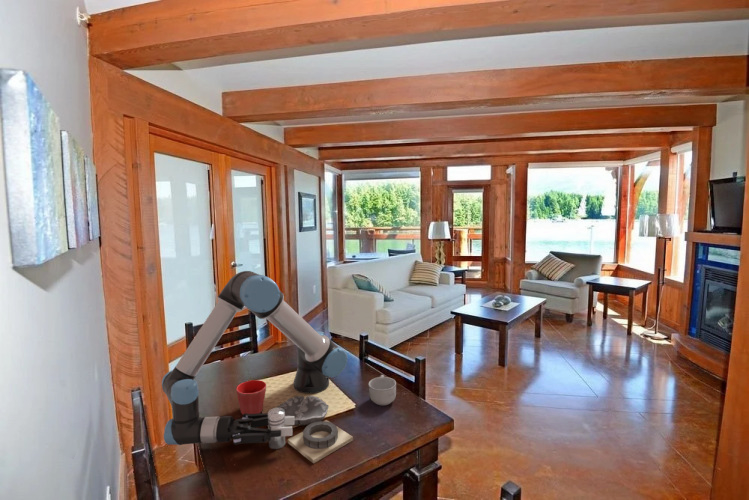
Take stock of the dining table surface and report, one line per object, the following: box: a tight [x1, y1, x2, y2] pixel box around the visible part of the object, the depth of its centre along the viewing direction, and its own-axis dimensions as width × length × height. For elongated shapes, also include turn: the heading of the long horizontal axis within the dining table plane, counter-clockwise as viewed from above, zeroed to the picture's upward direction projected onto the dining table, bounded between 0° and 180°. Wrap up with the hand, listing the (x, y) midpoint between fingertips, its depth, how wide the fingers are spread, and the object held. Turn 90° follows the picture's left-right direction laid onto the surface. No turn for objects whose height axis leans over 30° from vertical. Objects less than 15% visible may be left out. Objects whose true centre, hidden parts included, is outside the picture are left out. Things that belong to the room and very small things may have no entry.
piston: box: [267, 407, 286, 450], centre depth 120 cm, size 5×5×11 cm
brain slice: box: [275, 395, 329, 426], centre depth 138 cm, size 20×17×3 cm
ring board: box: [287, 419, 354, 464], centre depth 122 cm, size 14×16×4 cm
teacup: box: [368, 374, 397, 406], centre depth 149 cm, size 14×11×8 cm
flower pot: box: [236, 379, 267, 415], centre depth 139 cm, size 11×11×10 cm
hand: (293, 425), depth 120 cm, fingers closed on piston, 5 cm apart
